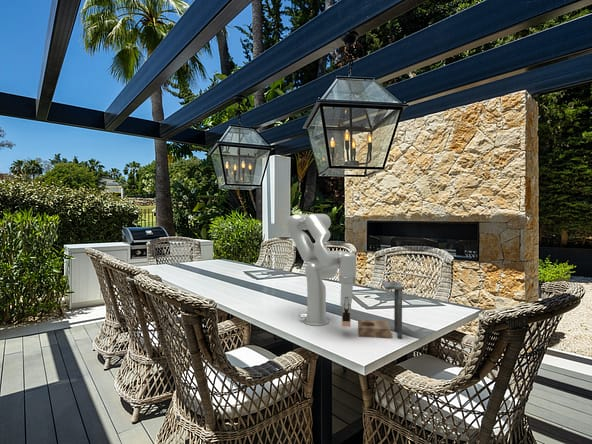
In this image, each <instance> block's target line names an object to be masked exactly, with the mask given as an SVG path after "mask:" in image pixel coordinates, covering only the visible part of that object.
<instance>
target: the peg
mask: <svg viewBox="0 0 592 444" xmlns="http://www.w3.org/2000/svg"><path fill="white" fill-rule="evenodd" d="M344 305H345V303H344ZM344 305H342V306H341V327H343V328H345V327H346V328H347V327H348V328H351V325H352V324H351V319H352V318H351V317H352V315H351V314H352V305H351V306H350V311H349V313H350V321H349V322H348V321H343V308H344V307H343V306H344ZM348 306H349V305H348Z"/></svg>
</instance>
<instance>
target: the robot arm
mask: <svg viewBox="0 0 592 444" xmlns="http://www.w3.org/2000/svg"><path fill="white" fill-rule="evenodd" d="M331 224H332V220H331V217H330V216H329V215H328V214H326V213H310V214H308V213H307V214H302V213H297V214H293V215H290V216H289V217H287V222H286V229H287V233H288V234H289V236H290V238H291V239H292V241H293V242H294V244H295V246H296V248H297V251H298V253H299V255H300V257H301V259H302V260H303V262H305V263H307V264H306V266H305V276H306V277H305V278H306V285H307V286H306V289H307V290H306V292H307V293H306V294H307V296H306V297H307V298H306V301H307V302H306V303H307V304H306V305H307V306H306V307H307V312H305V313H301V312H300V313H299V312H298V313H299V314H298V317H299V318H300V319H304V320H303V321H304V322H303V323H304V324H306V325H308V326H314V327H322V326H326V325H328V324H329V322H330V321H329V319H328V318H327V317H326V316H327V315H326V314H327V312H326V311H327V310H326V309H327V308H326V305H327V302H326V301H327V300H326V299H327V298H326V296H327V294H326V293H327V290H326V289H327V288H326V285H325V283H324V281H323V280H327V279H333V278H335V277H337V274H338V272H339V275H338V283H339V284H340V303H339V305H340V307H342V305H344V303H345V305H344V306H343V307H344V308H343V321H348V322H349V321H350V313H349V311H350V306H351V307H352V303H353V302H352V301H353V293H354V292H353V291H354V286H355V285H356V284H357V283H356V282H357V280H356V278H357V277H356V276H357V254H355V253H352V252H347V251H345V250H330V249H329V248H328V247H327V246H326V245H325V243H327V242H328V241H329V239H330V238H331V232H330V230H329V228H330V227H331ZM303 230H308V232H309V233H310V235H311V236H312V238H313V239H314V241H315V242H314V243H313V242H312V240H311V238H310V236H309V235H308V234H307V233H306V232H305V231H303ZM338 267H339V271H338ZM348 305H349V306H348Z"/></svg>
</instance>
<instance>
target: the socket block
mask: <svg viewBox="0 0 592 444" xmlns="http://www.w3.org/2000/svg"><path fill="white" fill-rule="evenodd" d="M382 286H383V288H384V289H385V290H394V294H393V295H394V298H393V299H394V303H393V304H394V305H393V307H394V309H393V310H394V313H393V314H394V315H393V317H394V318H393V319H394V320H393V323H394V324H393V325H394V326H393V327H394V329H393V330H394V332H397V333H396V337H397V339H398V340H399V339H400V340H402V339H403V290H404V289H405V287H404V285H403V284H402V283H401V282H400V281H399V282H398V281H382ZM357 326H358V327H357V331H358V332H357V333H358V337H360V338H361V337H363V338H376V339H377V338H378V339H379V338H380V339H392V338H391V337H392V334H391V333H392V332H391V331H392V330H391V327H390V323H389V322H388V321H387V320H372V319H371V320H370V319H369V320H368V319H357Z"/></svg>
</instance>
